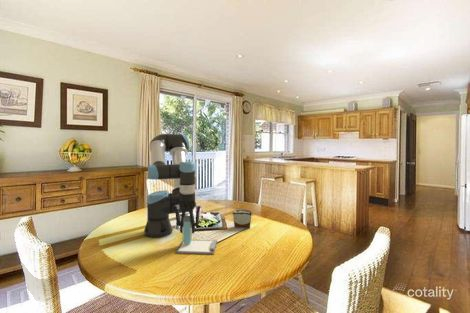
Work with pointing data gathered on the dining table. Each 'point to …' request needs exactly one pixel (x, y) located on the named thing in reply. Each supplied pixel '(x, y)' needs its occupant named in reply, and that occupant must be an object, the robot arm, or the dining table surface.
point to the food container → (242, 218)
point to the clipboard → (197, 247)
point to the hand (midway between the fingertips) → (187, 239)
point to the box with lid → (187, 229)
